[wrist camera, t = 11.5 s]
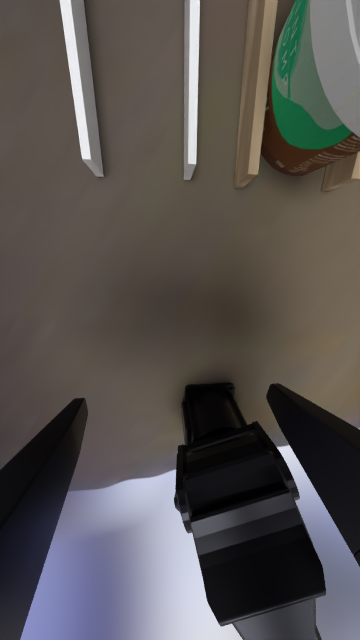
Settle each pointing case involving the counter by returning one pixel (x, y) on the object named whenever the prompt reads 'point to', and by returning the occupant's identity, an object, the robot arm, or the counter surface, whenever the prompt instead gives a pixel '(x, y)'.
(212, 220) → the counter surface
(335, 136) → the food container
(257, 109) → the tan wooden u-shaped piece
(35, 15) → the counter surface
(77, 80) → the white frame
